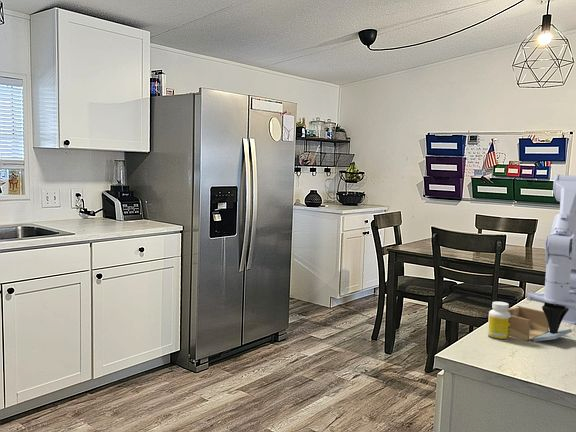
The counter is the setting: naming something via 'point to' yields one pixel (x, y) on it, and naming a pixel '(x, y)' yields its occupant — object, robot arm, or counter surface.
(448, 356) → the counter surface
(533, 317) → the box
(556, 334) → the panel
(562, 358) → the counter surface
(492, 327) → the supplement bottle
